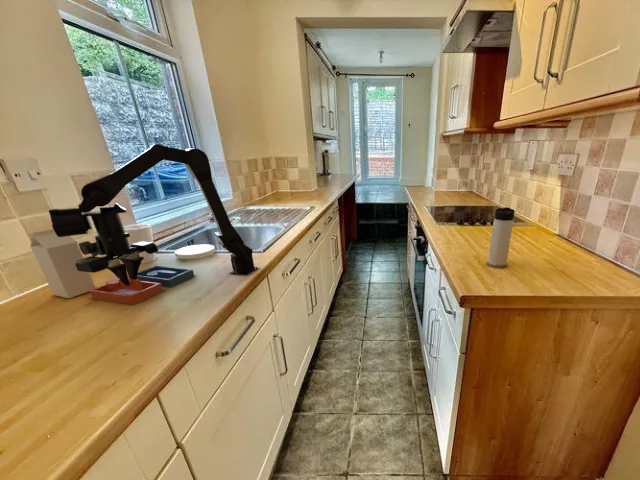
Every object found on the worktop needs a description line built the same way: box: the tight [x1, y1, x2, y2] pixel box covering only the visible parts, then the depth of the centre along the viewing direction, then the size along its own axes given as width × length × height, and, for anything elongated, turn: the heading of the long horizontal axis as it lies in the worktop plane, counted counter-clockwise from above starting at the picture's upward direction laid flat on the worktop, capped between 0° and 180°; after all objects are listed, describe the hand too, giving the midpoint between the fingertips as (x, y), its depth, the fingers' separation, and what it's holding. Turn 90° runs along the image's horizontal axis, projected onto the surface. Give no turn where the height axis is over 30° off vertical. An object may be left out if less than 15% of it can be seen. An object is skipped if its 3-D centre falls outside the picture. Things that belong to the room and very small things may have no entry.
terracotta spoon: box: [105, 277, 142, 289], centre depth 92 cm, size 11×5×2 cm, turn 75°
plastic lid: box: [174, 243, 216, 260], centre depth 126 cm, size 14×14×2 cm
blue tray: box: [136, 265, 195, 288], centre depth 104 cm, size 15×9×2 cm, turn 75°
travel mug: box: [487, 206, 516, 269], centre depth 111 cm, size 6×7×20 cm
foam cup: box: [123, 223, 157, 264], centre depth 119 cm, size 10×9×13 cm
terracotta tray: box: [89, 281, 164, 305], centre depth 93 cm, size 15×9×2 cm, turn 75°
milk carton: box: [29, 228, 97, 299], centre depth 91 cm, size 7×7×19 cm
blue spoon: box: [147, 270, 178, 279], centre depth 103 cm, size 11×5×2 cm, turn 75°
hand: (130, 284), depth 92 cm, fingers closed on terracotta spoon, 2 cm apart
